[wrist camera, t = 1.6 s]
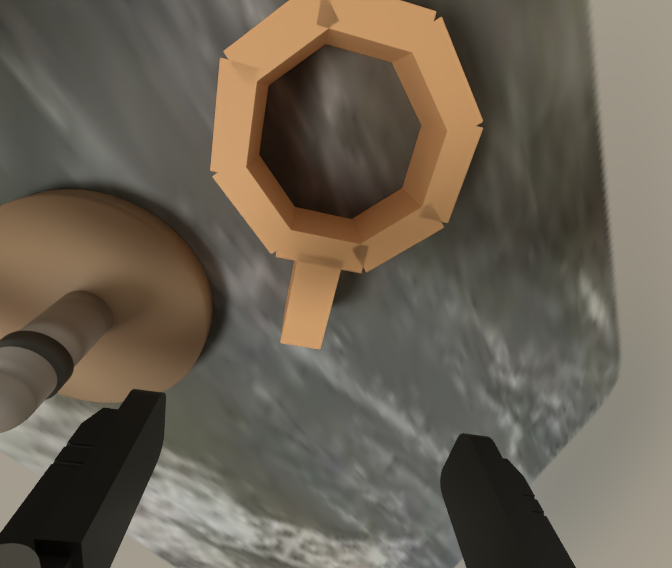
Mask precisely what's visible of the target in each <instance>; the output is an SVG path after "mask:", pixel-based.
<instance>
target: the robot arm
mask: <svg viewBox="0 0 672 568" xmlns="http://www.w3.org/2000/svg"><path fill="white" fill-rule="evenodd" d="M165 406H166V395H165V393H162V392H155V391H147V390H140V389H132V390H131V391H130V392H129V394H128V395H127V397H126V398H125V400H124V401H123V403H122V404H121V406H120V408H119V409H110V408H102V409H101V410H99V411H98V412H97V413H95V414H94V415H92V416H91V417H90V418H88V419H87V420H85V421H84V422H83V423H82V424H81V425H80V426H79V428H78V429H77V430H76V432H75V433H74V434H73V436H72V437H71V438H70V440H69V441H68V442H67V446H66V447H64V448H63V449H62V451H61V452H60V453H59V455H58V456H57V457H56V459H55V461H54V463H53V464H51V465H50V467H49V468H48V469H47V471H46V472H45V473H44V475H43V476H42V477H41V479H40V480H39V482H38V483H37V484H36V486H35V487H34V489H33V490H32V491H31V492H30V494H29V495H28V496H27V498H26V499H25V500H24V502H23V503H22V504H21V506H20V507H19V509H18V510H17V511H16V513H15V514H14V515H13V517H12V518H11V519H10V521H9V522H8V523H7V525H6V526H5V527H4V529H3V530H2V531H1V533H0V568H110V567H111V564H112V562H113V560H114V557H115V555H116V553H117V551H118V548H119V546H120V544H121V542H122V540H123V537H124V535H125V533H126V531H127V529H128V526H129V524H130V522H131V520H132V517H133V515H134V513H135V511H136V508H137V506H138V504H139V502H140V499H141V497H142V495H143V493H144V490H145V488H146V486H147V484H148V481H149V479H150V477H151V475H152V472H153V470H154V468H155V466H156V463H157V461H158V458H159V456H160V452H161V449H162V445H163V440H164V427H165ZM440 485H441V492H442V496H443V499H444V502H445V505H446V508H447V511H448V514H449V517H450V520H451V523H452V526H453V529H454V532H455V535H456V538H457V541H458V544H459V547H460V550H461V553H462V556H463V559H464V561H465V565H466V567H467V568H576V567H575V565H574V564H573V562H572V560H571V558H570V557H569V555H568V553H567V551H566V550H565V548H564V546H563V544H562V543H561V541H560V539H559V538H558V536H557V534H556V532H555V531H554V529H553V527H552V525H551V524H550V522H549V520H548V518H547V517H546V516H544V511H543V509H542V508H541V506H540V504H539V503H538V501H537V500H535V498H534V496H535V495H534V494H533V492H532V490H531V488H530V487H529V485H528V483H527V481H526V480H525V478H524V476H523V475H522V474H521V473H520V472H519V471H518V470H517V469H516V468H515V467H514V466H513V465H512V463H511V462H510V461H509V460H508V459H503V458H502V456H501V454H500V452H499V450H498V449H497V447H496V445H495V443H494V441H493V440H492V439H491V438H490V437H487V436H479V435H472V434H464V433H463V434H461V435H459V437H458V438H457V440H456V442H455V444H454V446H453V448H452V451H451V453H450V455H449V457H448V459H447V461H446V463H445V465H444V467H443V469H442V472H441V479H440Z"/></svg>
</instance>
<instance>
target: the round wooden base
mask: <svg viewBox="0 0 672 568" xmlns="http://www.w3.org/2000/svg"><path fill="white" fill-rule="evenodd" d="M212 320H213V298H212V292H211V288H210V284H209V281H208V278H207V276H206V274H205V271H204V269H203V267H202V265H201V263H200V262H199V260H198V258H197V257H196V255H195V254H194V252H193V251H192V250H191V248H190V247H189V246H188V245H187V243H186V242H185V241H184V240H183V239H182V238H181V237H180V236H179V235H178V234H177V233H176V232H175V231H174V230H173V229H172V228H171V227H169V226H168V225H167V224H166V223H165V222H163V221H162V220H161V219H159V218H158V217H156V216H155V215H153V214H152V213H150V212H149V211H147V210H145V209H143V208H141V207H139V206H137V205H135V204H133V203H131V202H129V201H126V200H124V199H121V198H118V197H116V196H112V195H109V194H105V193H101V192H97V191H90V190H83V189H58V190H49V191H44V192H40V193H36V194H32V195H29V196H26V197H23V198H20V199H17V200H14V201H11V202H8V203H6V204H3V205H1V206H0V433H2V432H5V431H8V430H11V429H13V428H15V427H17V426H18V425H20V424H21V423H23V422H24V421H25V420H27V419H28V418H29V417H30V416H31V415H32V414H33V413H34V412H35V410H36V409H37V408H38V407H39V406H40V405H41V404H42V403H43V402H44V400H46V399H49V398H51V397H53V396H54V395H55V394H56V393H58V394H61V395H64V396H68V397H71V398H75V399H80V400H86V401H93V402H105V403H107V402H123V401H124V400H125V398H126V397H127V395H128V394H129V392H130V391H131V390H132V389H140V390H147V391H155V392H162V391H164V390H166V389H168V388H170V387H171V386H173V385H174V384H176V383H177V382H179V381H180V380H181V379H182V378H183V377H184V376H185V375H186V374H187V373H188V372H189V371H190V370H191V368H192V367H193V366H194V364H195V363H196V361H197V359H198V357H199V355H200V353H201V351H202V349H203V347H204V344H205V342H206V340H207V338H208V335H209V332H210V329H211V325H212Z"/></svg>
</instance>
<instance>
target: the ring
mask: <svg viewBox="0 0 672 568" xmlns="http://www.w3.org/2000/svg"><path fill="white" fill-rule="evenodd" d="M436 12H437V11H434V10H430V9H427V8H424V7H421V6H417V5H414V4H411V3H408V2H405V1H401V0H289V1H288V2H286V3H285V4H284V5H283V6H281V7H280V8H279V9H277V10H276V11H275V12H273V13H272V14H271V15H270V16H268V17H267V18H266V19H264V20H263V21H262V22H261V23H259V24H258V25H257V26H255V27H254V28H253V29H252V30H250V31H249V32H248V33H246V34H245V35H244V36H242V37H241V38H240V39H239V40H237V41H236V42H235V43H233V44H232V45H231V46H230V47H228V48H227V49H226V50H224V51H223V52H224V53H225V55H226V56H227V58H228V59H229V60H227V59H223V58H220V65H219V76H218V88H217V99H216V111H215V122H214V134H213V145H212V157H211V168H210V171H215V172H218V173H216V174H215V175H214V176H212V177H213V178H214V180H215V181H216V182H217V184H218V185H219V186H220V188H221V189H222V190H223V191H224V193H225V194H226V195H227V197H228V198H229V199H230V201H231V202H232V203H233V205H234V206H235V207H236V209H237V210H238V211H239V213H240V214H241V215H242V216H243V218H244V219H245V220H246V222H247V223H248V224H249V226H250V227H251V228H252V230H253V231H254V232H255V234H256V235H257V236H258V237H259V239H260V240H261V241H262V243H263V244H264V245H265V247H266V248H267V249H268V251H269V252H270V253H271V254H272V253H273V252H275V251H277V252H276V257H279V258H285V259H290V260H294V265H293V270H292V275H291V280H290V285H289V290H288V295H287V300H286V305H285V313H284V320H283V327H282V334H281V342H280V343H283V344H290V345H296V346H302V347H308V348H315V349H320V348H321V345H322V341H323V337H324V333H325V329H326V325H327V322H328V318H329V314H330V310H331V306H332V302H333V299H334V295H335V291H336V287H337V283H338V279H339V275H340V272H341V269H342V270H347V271H352V272H357V273H362V269H363V268H364V269H365V271H366V272H368V271H370V270H372V269H373V268H375V267H377V266H378V265H380V264H382V263H384V262H385V261H387V260H389V259H391V258H392V257H394V256H396V255H397V254H399V253H401V252H403V251H404V250H406V249H408V248H410V247H411V246H413V245H415V244H417V243H418V242H420V241H422V240H423V239H425V238H427V237H429V236H430V235H432V234H434V233H436V232H437V231H439V230H441V229H442V228H444V226H443V224H442V222H445V223H448V221H449V219H450V216H451V213H452V211H453V208H454V205H455V203H456V200H457V197H458V195H459V192H460V189H461V186H462V184H463V181H464V178H465V176H466V173H467V170H468V168H469V165H470V162H471V160H472V157H473V154H474V152H475V149H476V146H477V143H478V141H479V138H480V135H481V133H482V130H483V128H482V127H478V126H477V125H478V124H480V123H482V122H483V119H482V117H481V114H480V112H479V109H478V107H477V104H476V102H475V99H474V97H473V94H472V92H471V89H470V86H469V84H468V81H467V79H466V76H465V74H464V71H463V69H462V66H461V64H460V61H459V59H458V56H457V54H456V51H455V49H454V46H453V44H452V41H451V39H450V36H449V34H448V31H447V29H446V26H445V24H444V21H443V19H442V16H441V17H440V18H438V19H437V20H435V21H434V18H435V15H436ZM325 44H327V45H331V46H334V47H338V48H341V49H345V50H348V51H352V52H355V53H359V54H362V55H366V56H369V57H373V58H377V59H380V60H384V61H387V62H391V63H392V64H393V66H394V69H395V71H396V73H397V75H398V77H399V79H400V81H401V83H402V86H403V88H404V90H405V92H406V94H407V96H408V98H409V100H410V102H411V105H412V107H413V109H414V111H415V113H416V115H417V117H418V119H419V121H420V124H421V128H420V131H419V135H418V138H417V141H416V144H415V148H414V151H413V154H412V157H411V161H410V164H409V167H408V171H407V174H406V177H405V180H404V184H403V187H402V188H401V189H400V190H398V191H396V192H395V193H393V194H391V195H390V196H388V197H387V198H385V199H383V200H382V201H380V202H378V203H377V204H375V205H374V206H372V207H370V208H369V209H367V210H365V211H364V212H362V213H361V214H359V215H357V216H356V217H354V218H352V219H349V218H345V217H340V216H335V215H331V214H326V213H321V212H317V211H312V210H307V209H303V208H298V207H295V206H294V205H293V203H292V202H291V201H290V199H289V198H288V196H287V195H286V193H285V192H284V190H283V189H282V187H281V186H280V184H279V183H278V182H277V180H276V179H275V177H274V176H273V174H272V173H271V171H270V170H269V168H268V167H267V165H266V164H265V163H264V161H263V160H262V158H261V157H260V155H259V152H260V144H261V137H262V130H263V123H264V115H265V108H266V101H267V94H268V87H269V85H270V84H271V83H273V82H274V81H276V80H277V79H278V78H280V77H281V76H282V75H284V74H285V73H286V72H288V71H289V70H291V69H292V68H293V67H295V66H296V65H297V64H299V63H300V62H302V61H303V60H304V59H306V58H307V57H308V56H310V55H311V54H312V53H314V52H315V51H317V50H318V49H319V48H321V47H322V46H323V45H325Z"/></svg>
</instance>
